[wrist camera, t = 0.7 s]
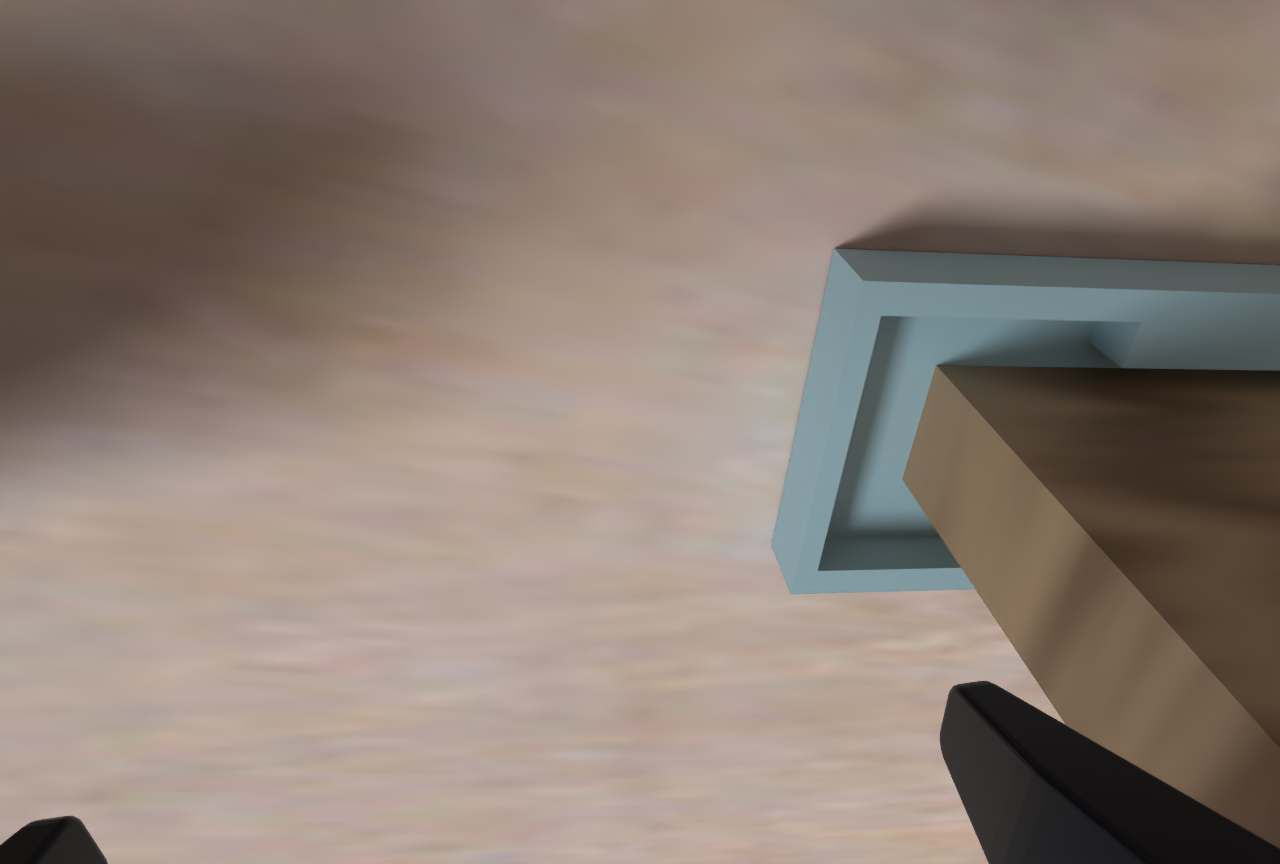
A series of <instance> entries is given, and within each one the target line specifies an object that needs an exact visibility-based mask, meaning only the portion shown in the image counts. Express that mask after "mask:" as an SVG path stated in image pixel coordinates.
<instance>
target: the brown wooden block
mask: <svg viewBox="0 0 1280 864" xmlns="http://www.w3.org/2000/svg"><path fill="white" fill-rule="evenodd" d="M902 480H903V481H904V483H905V484H906V486H907V487H908V489H909V490H910V492H911V493H912V495H913V496H914V498H915V499H916V501H917V502H918V504H919V505H920V507H921V508H922V510H923V511H924V513H925V514H926V516H927V517H928V519H929V520H930V522H931V523H932V525H933V526H934V528H935V529H936V531H937V532H938V534H939V535H940V537H941V538H942V540H943V541H944V543H945V544H946V546H947V547H948V549H949V550H950V552H951V553H952V555H953V556H954V558H955V559H956V561H957V562H958V564H959V565H960V567H961V568H962V570H963V571H964V573H965V574H966V576H967V577H968V579H969V580H970V582H971V583H972V585H973V586H974V588H975V589H976V591H977V592H978V594H979V595H980V597H981V598H982V600H983V601H984V603H985V604H986V606H987V607H988V609H989V610H990V612H991V613H992V615H993V616H994V618H995V619H996V621H997V622H998V624H999V625H1000V627H1001V628H1002V630H1003V631H1004V633H1005V634H1006V636H1007V637H1008V639H1009V640H1010V642H1011V643H1012V645H1013V646H1014V648H1015V649H1016V651H1017V652H1018V654H1019V655H1020V657H1021V658H1022V660H1023V661H1024V663H1025V664H1026V666H1027V667H1028V669H1029V670H1030V672H1031V673H1032V675H1033V676H1034V678H1035V679H1036V681H1037V682H1038V684H1039V685H1040V687H1041V688H1042V690H1043V691H1044V693H1045V694H1046V696H1047V697H1048V699H1049V700H1050V702H1051V703H1052V705H1053V706H1054V708H1055V709H1056V711H1057V712H1058V714H1059V715H1060V717H1061V718H1062V720H1063V721H1064V723H1065V724H1066V725H1067V726H1068V727H1070V728H1072V729H1073V730H1075V731H1077V732H1079V733H1080V734H1082V735H1084V736H1086V737H1087V738H1089V739H1091V740H1093V741H1094V742H1096V743H1098V744H1100V745H1101V746H1103V747H1105V748H1106V749H1108V750H1110V751H1112V752H1113V753H1115V754H1117V755H1119V756H1120V757H1122V758H1124V759H1126V760H1127V761H1129V762H1131V763H1132V764H1134V765H1136V766H1138V767H1139V768H1141V769H1143V770H1145V771H1146V772H1148V773H1150V774H1152V775H1153V776H1155V777H1157V778H1159V779H1160V780H1162V781H1164V782H1165V783H1167V784H1169V785H1171V786H1172V787H1174V788H1176V789H1178V790H1179V791H1181V792H1183V793H1185V794H1186V795H1188V796H1190V797H1192V798H1193V799H1195V800H1197V801H1198V802H1200V803H1202V804H1204V805H1205V806H1207V807H1209V808H1211V809H1212V810H1214V811H1216V812H1218V813H1219V814H1221V815H1223V816H1224V817H1226V818H1228V819H1230V820H1231V821H1233V822H1235V823H1237V824H1238V825H1240V826H1242V827H1244V828H1245V829H1247V830H1249V831H1251V832H1252V833H1254V834H1256V835H1257V836H1259V837H1261V838H1263V839H1264V840H1266V841H1268V842H1270V843H1271V844H1273V845H1275V846H1277V847H1278V848H1280V371H1273V370H1210V369H1147V368H1085V367H1022V366H959V365H936V367H935V370H934V374H933V377H932V380H931V384H930V387H929V390H928V394H927V397H926V401H925V404H924V407H923V411H922V414H921V417H920V421H919V424H918V428H917V431H916V434H915V438H914V441H913V444H912V448H911V451H910V455H909V458H908V461H907V465H906V468H905V471H904V475H903V478H902Z"/></svg>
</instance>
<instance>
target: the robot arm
mask: <svg viewBox="0 0 1280 864" xmlns="http://www.w3.org/2000/svg"><path fill="white" fill-rule="evenodd" d="M940 745H941V751H942V754H943V758H944V760H945V763H946V765H947V767H948V770H949V772H950V774H951V777H952V779H953V781H954V784H955V786H956V788H957V791H958V793H959V795H960V798H961V800H962V802H963V805H964V807H965V809H966V812H967V814H968V816H969V819H970V821H971V823H972V826H973V828H974V830H975V833H976V835H977V837H978V840H979V842H980V844H981V847H982V849H983V851H984V854H985V856H986V858H987V861H988V863H989V864H1280V848H1278V847H1277V846H1275V845H1273V844H1271V843H1270V842H1268V841H1266V840H1264V839H1263V838H1261V837H1259V836H1257V835H1256V834H1254V833H1252V832H1251V831H1249V830H1247V829H1245V828H1244V827H1242V826H1240V825H1238V824H1237V823H1235V822H1233V821H1231V820H1230V819H1228V818H1226V817H1224V816H1223V815H1221V814H1219V813H1218V812H1216V811H1214V810H1212V809H1211V808H1209V807H1207V806H1205V805H1204V804H1202V803H1200V802H1198V801H1197V800H1195V799H1193V798H1192V797H1190V796H1188V795H1186V794H1185V793H1183V792H1181V791H1179V790H1178V789H1176V788H1174V787H1172V786H1171V785H1169V784H1167V783H1165V782H1164V781H1162V780H1160V779H1159V778H1157V777H1155V776H1153V775H1152V774H1150V773H1148V772H1146V771H1145V770H1143V769H1141V768H1139V767H1138V766H1136V765H1134V764H1132V763H1131V762H1129V761H1127V760H1126V759H1124V758H1122V757H1120V756H1119V755H1117V754H1115V753H1113V752H1112V751H1110V750H1108V749H1106V748H1105V747H1103V746H1101V745H1100V744H1098V743H1096V742H1094V741H1093V740H1091V739H1089V738H1087V737H1086V736H1084V735H1082V734H1080V733H1079V732H1077V731H1075V730H1073V729H1072V728H1070V727H1068V726H1067V725H1065V724H1063V723H1061V722H1060V721H1058V720H1056V719H1054V718H1053V717H1051V716H1049V715H1047V714H1046V713H1044V712H1042V711H1040V710H1039V709H1037V708H1035V707H1034V706H1032V705H1030V704H1028V703H1027V702H1025V701H1023V700H1021V699H1020V698H1018V697H1016V696H1014V695H1013V694H1011V693H1009V692H1008V691H1006V690H1004V689H1002V688H1001V687H999V686H997V685H995V684H993V683H990V682H988V681H978V682H971V683H964V684H958V685H955V686H953V687H952V689H951V690H950V692H949V695H948V699H947V704H946V708H945V713H944V717H943V721H942V726H941V730H940ZM0 864H108V863H107V860H106V858H105V857H104V855H103V854H102V852H101V850H100V849H99V847H98V846H97V844H96V843H95V841H94V840H93V838H92V837H91V835H90V833H89V832H88V830H87V829H86V827H85V826H84V824H83V823H82V821H81V820H80V819H78V818H76V817H74V816H63V817H56V818H49V819H42V820H37V821H33V822H30V823H29V824H27V825H26V826H24V827H23V828H21V829H20V830H19V831H17V832H16V833H15V834H14V835H12V836H11V837H10V838H9V839H7V840H6V841H5V842H4V843H2V844H1V845H0Z"/></svg>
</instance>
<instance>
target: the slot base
mask: <svg viewBox="0 0 1280 864" xmlns="http://www.w3.org/2000/svg"><path fill="white" fill-rule="evenodd" d="M936 365H959V366H1022V367H1085V368H1147V369H1210V370H1273V371H1280V265H1261V264H1234V263H1207V262H1180V261H1154V260H1127V259H1100V258H1073V257H1046V256H1020V255H993V254H966V253H939V252H913V251H886V250H859V249H834V252H833V256H832V261H831V266H830V271H829V275H828V280H827V285H826V290H825V294H824V299H823V304H822V309H821V314H820V318H819V323H818V328H817V333H816V337H815V342H814V347H813V352H812V356H811V361H810V366H809V371H808V376H807V380H806V385H805V390H804V395H803V399H802V404H801V409H800V414H799V418H798V423H797V428H796V433H795V438H794V442H793V447H792V452H791V457H790V461H789V466H788V471H787V476H786V480H785V485H784V490H783V495H782V500H781V504H780V509H779V514H778V519H777V523H776V528H775V533H774V538H773V542H772V549H773V551H774V554H775V556H776V559H777V561H778V564H779V566H780V569H781V571H782V574H783V576H784V579H785V581H786V584H787V586H788V589H789V591H790V594H815V593H853V592H890V591H927V590H965V589H975V588H974V586H973V585H972V583H971V582H970V580H969V579H968V577H967V576H966V574H965V573H964V571H963V570H962V568H961V567H960V565H959V564H958V562H957V561H956V559H955V558H954V556H953V555H952V553H951V552H950V550H949V549H948V547H947V546H946V544H945V543H944V541H943V540H942V538H941V537H940V535H939V534H938V532H937V531H936V529H935V528H934V526H933V525H932V523H931V522H930V520H929V519H928V517H927V516H926V514H925V513H924V511H923V510H922V508H921V507H920V505H919V504H918V502H917V501H916V499H915V498H914V496H913V495H912V493H911V492H910V490H909V489H908V487H907V486H906V484H905V483H904V481H903V480H902V478H903V475H904V471H905V468H906V465H907V461H908V458H909V455H910V451H911V448H912V444H913V441H914V438H915V434H916V431H917V428H918V424H919V421H920V417H921V414H922V411H923V407H924V404H925V401H926V397H927V394H928V390H929V387H930V384H931V380H932V377H933V374H934V370H935V367H936Z"/></svg>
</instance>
